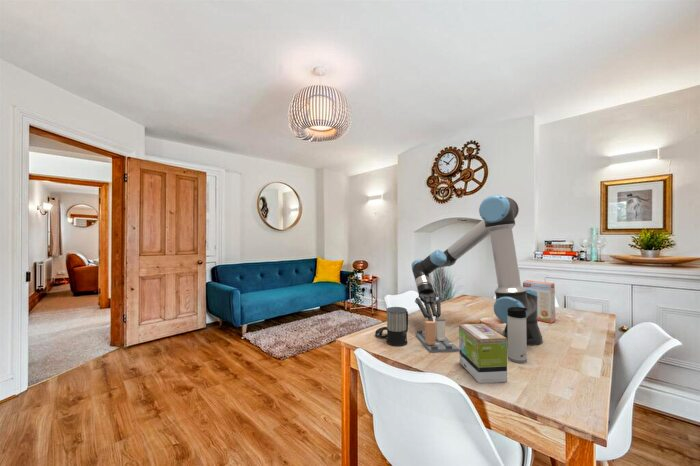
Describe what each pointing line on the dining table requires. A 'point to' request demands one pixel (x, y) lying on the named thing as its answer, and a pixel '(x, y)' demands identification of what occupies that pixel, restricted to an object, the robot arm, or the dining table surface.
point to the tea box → (483, 353)
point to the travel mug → (517, 334)
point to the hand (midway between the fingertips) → (436, 331)
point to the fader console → (434, 340)
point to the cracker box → (543, 299)
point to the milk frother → (395, 326)
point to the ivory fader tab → (440, 329)
